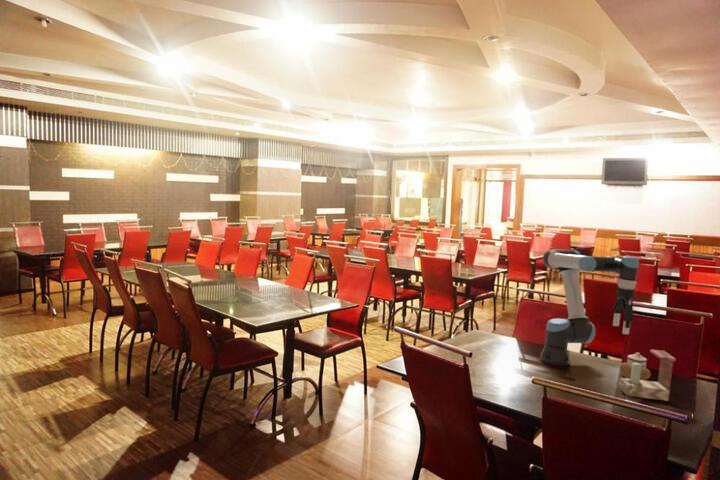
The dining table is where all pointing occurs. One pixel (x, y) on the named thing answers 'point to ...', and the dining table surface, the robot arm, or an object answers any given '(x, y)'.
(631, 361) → the teacup with lid
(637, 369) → the peg
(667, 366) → the socket stand
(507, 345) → the dining table surface
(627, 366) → the potato
